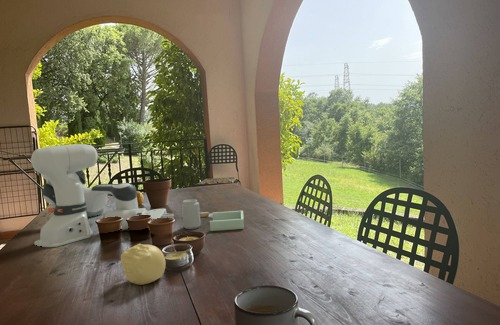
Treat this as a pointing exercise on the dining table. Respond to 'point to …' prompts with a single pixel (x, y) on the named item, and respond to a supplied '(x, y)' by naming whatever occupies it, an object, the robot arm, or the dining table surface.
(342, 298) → the dining table surface
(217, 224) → the frame
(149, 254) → the pomelo
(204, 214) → the scraper
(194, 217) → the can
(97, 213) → the planter
